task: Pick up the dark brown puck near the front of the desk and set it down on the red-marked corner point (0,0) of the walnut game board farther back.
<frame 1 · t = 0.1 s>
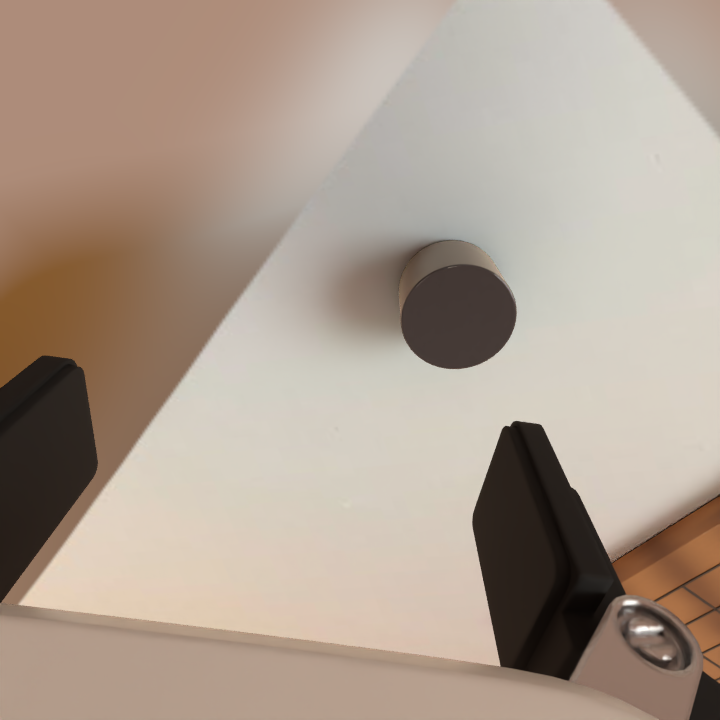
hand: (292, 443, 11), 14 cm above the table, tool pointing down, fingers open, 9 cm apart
dark brown puck: (448, 289, 24), on the table
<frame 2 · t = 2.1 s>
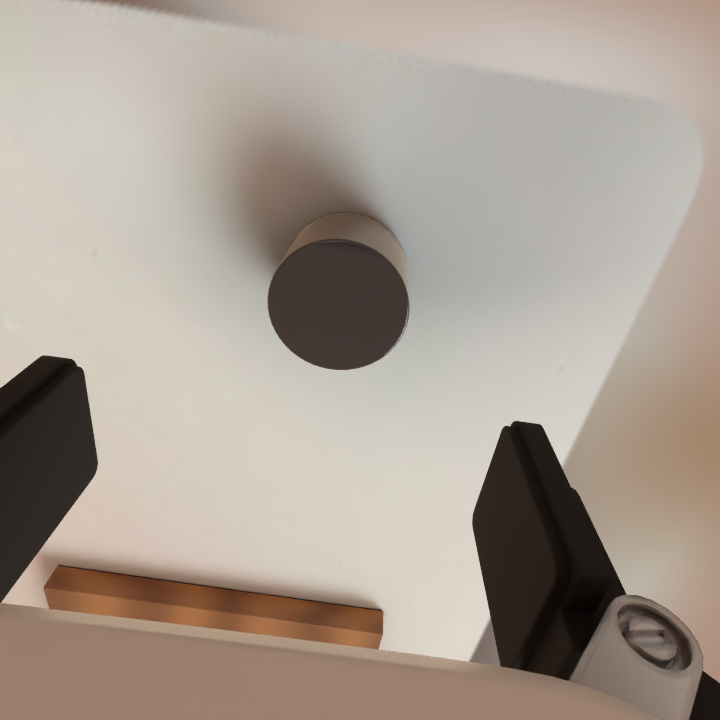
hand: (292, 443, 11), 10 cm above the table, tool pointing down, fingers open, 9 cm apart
board: (221, 676, 35), on the table
dark brown puck: (346, 272, 20), on the table
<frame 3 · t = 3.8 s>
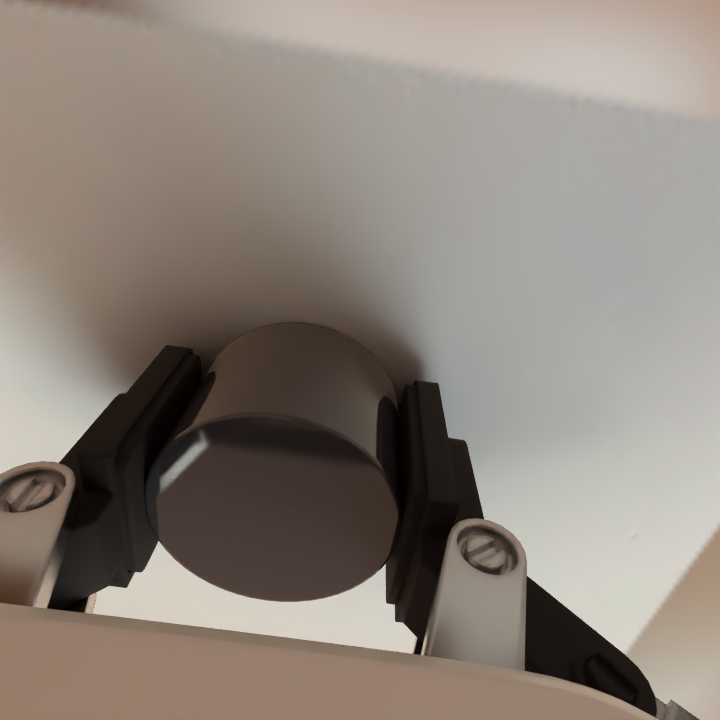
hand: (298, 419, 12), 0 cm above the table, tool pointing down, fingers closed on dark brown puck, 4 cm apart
dark brown puck: (300, 409, 12), on the table, touching gripper
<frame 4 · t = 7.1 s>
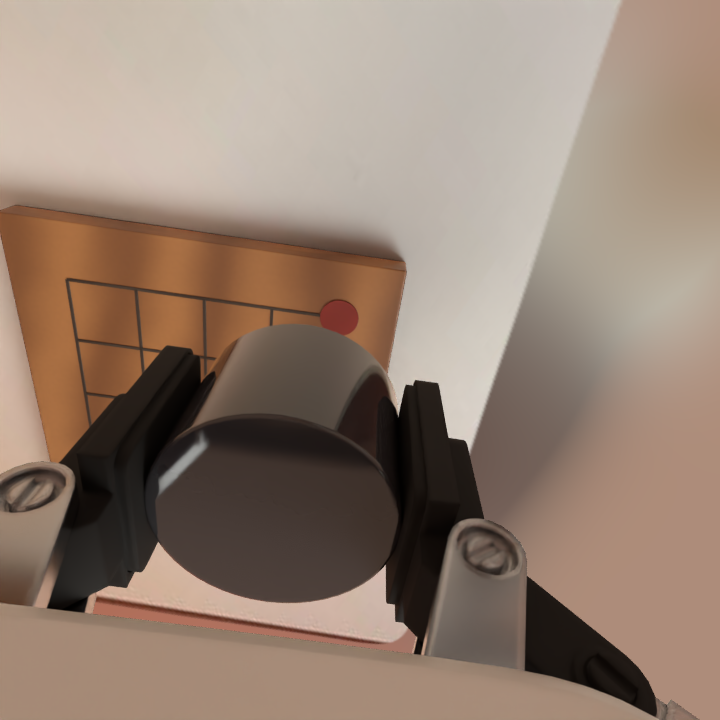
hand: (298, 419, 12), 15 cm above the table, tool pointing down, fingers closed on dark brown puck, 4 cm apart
board: (214, 395, 30), on the table
dark brown puck: (300, 410, 12), point 15 cm above the table, touching gripper
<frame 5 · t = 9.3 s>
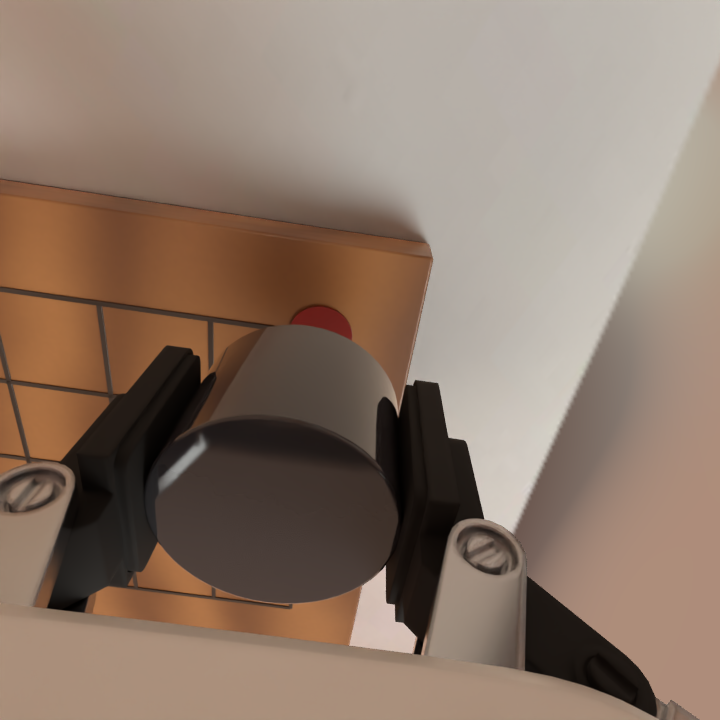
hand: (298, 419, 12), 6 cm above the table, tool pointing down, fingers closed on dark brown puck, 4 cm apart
board: (138, 446, 20), on the table
dark brown puck: (300, 411, 12), point 6 cm above the table, touching gripper
when the fingers open (2 cm above the table, at t = 10.7 s): dark brown puck stays where it is, resting on board.
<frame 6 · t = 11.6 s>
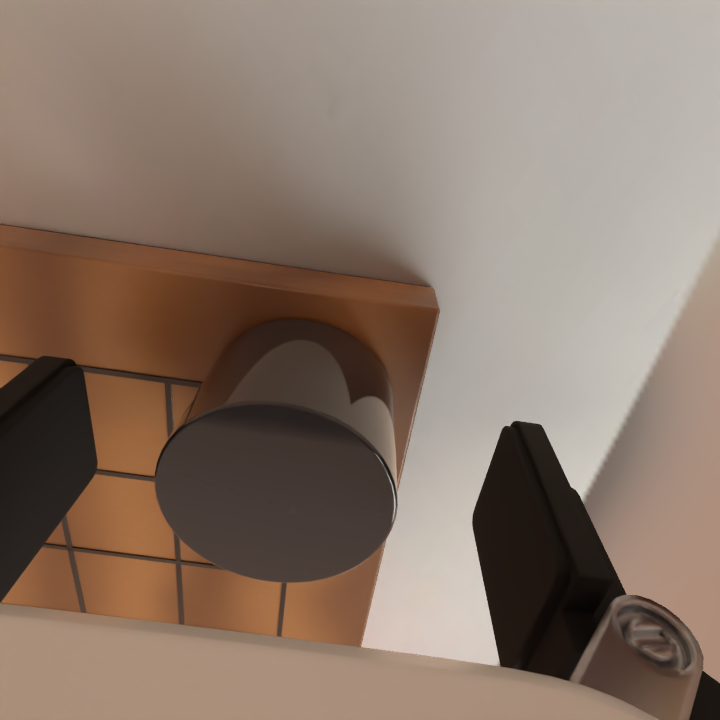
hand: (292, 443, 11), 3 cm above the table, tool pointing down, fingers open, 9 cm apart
board: (94, 513, 17), on the table
dark brown puck: (301, 402, 13), point 2 cm above the table, touching board
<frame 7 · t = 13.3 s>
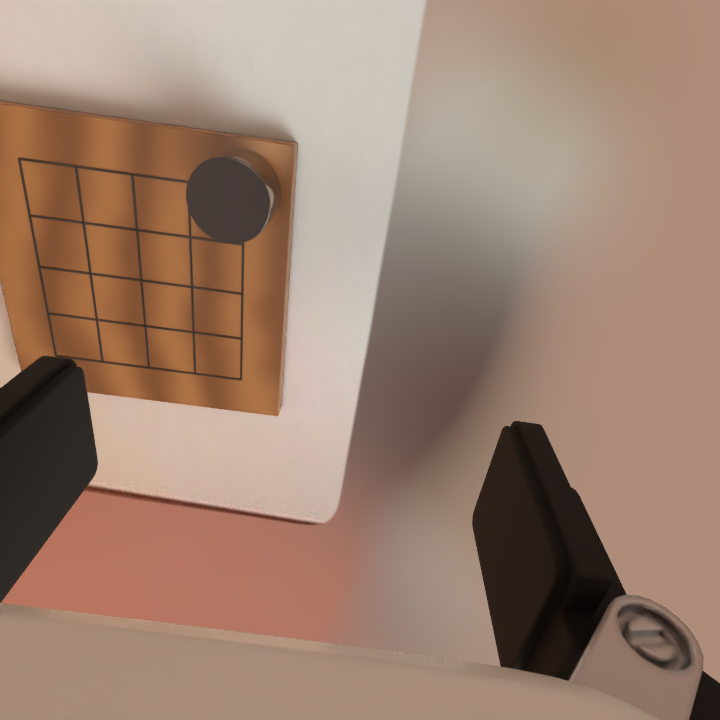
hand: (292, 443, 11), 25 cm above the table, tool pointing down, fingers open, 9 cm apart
board: (150, 273, 36), on the table
dark brown puck: (243, 191, 31), point 2 cm above the table, touching board
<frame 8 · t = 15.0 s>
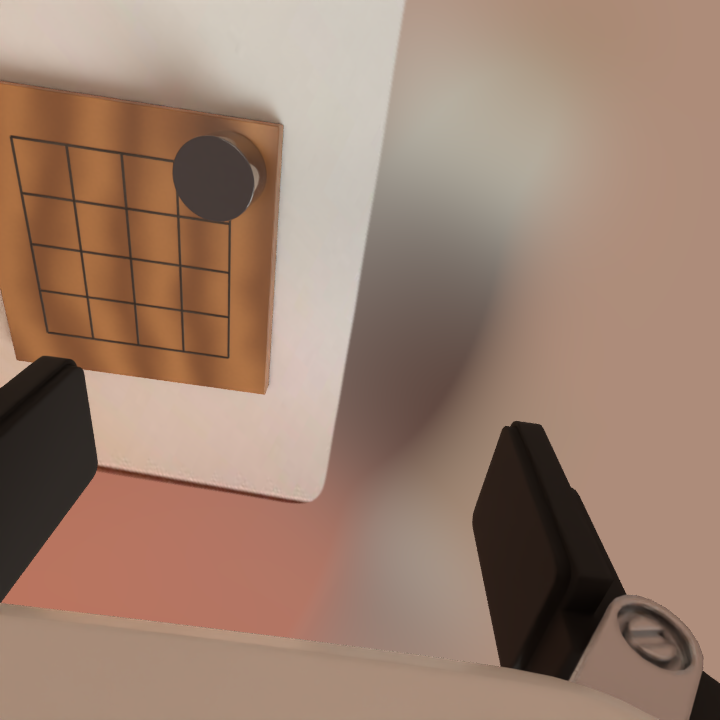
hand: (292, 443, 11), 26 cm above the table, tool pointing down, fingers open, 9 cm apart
board: (140, 252, 37), on the table
dark brown puck: (229, 171, 32), point 2 cm above the table, touching board
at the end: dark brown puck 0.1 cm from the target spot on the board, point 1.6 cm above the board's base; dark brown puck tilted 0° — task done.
